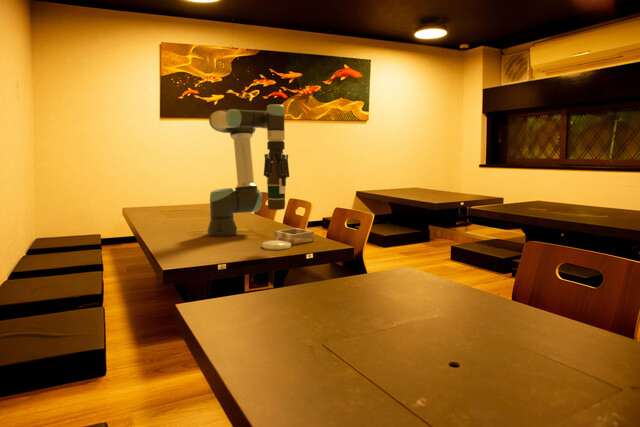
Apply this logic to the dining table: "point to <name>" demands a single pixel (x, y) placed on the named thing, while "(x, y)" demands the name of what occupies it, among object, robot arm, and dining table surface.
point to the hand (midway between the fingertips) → (276, 192)
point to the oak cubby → (294, 235)
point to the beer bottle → (275, 189)
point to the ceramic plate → (276, 245)
